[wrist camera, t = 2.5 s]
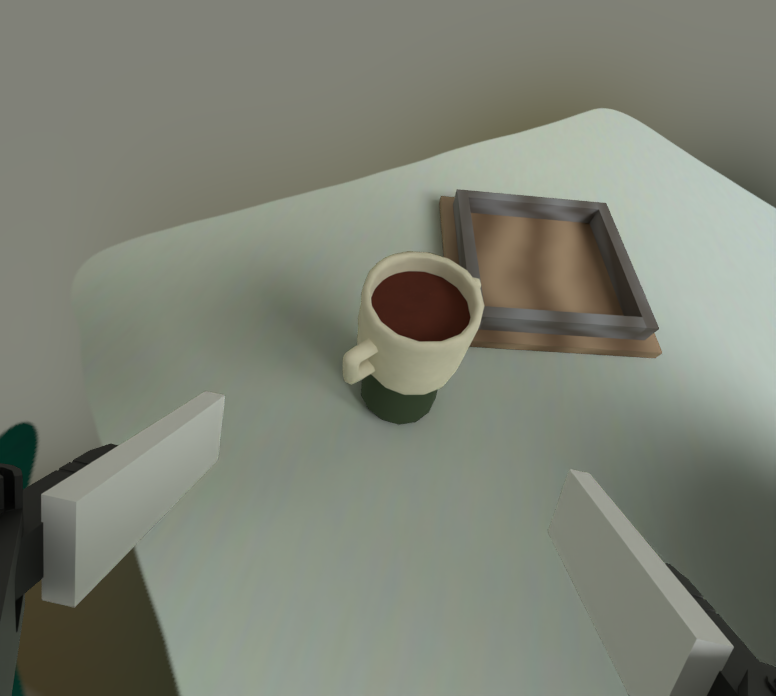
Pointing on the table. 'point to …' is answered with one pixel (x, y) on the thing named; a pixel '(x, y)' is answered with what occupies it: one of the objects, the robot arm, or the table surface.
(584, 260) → the mug dock
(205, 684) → the table surface
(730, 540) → the table surface
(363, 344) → the character mug
